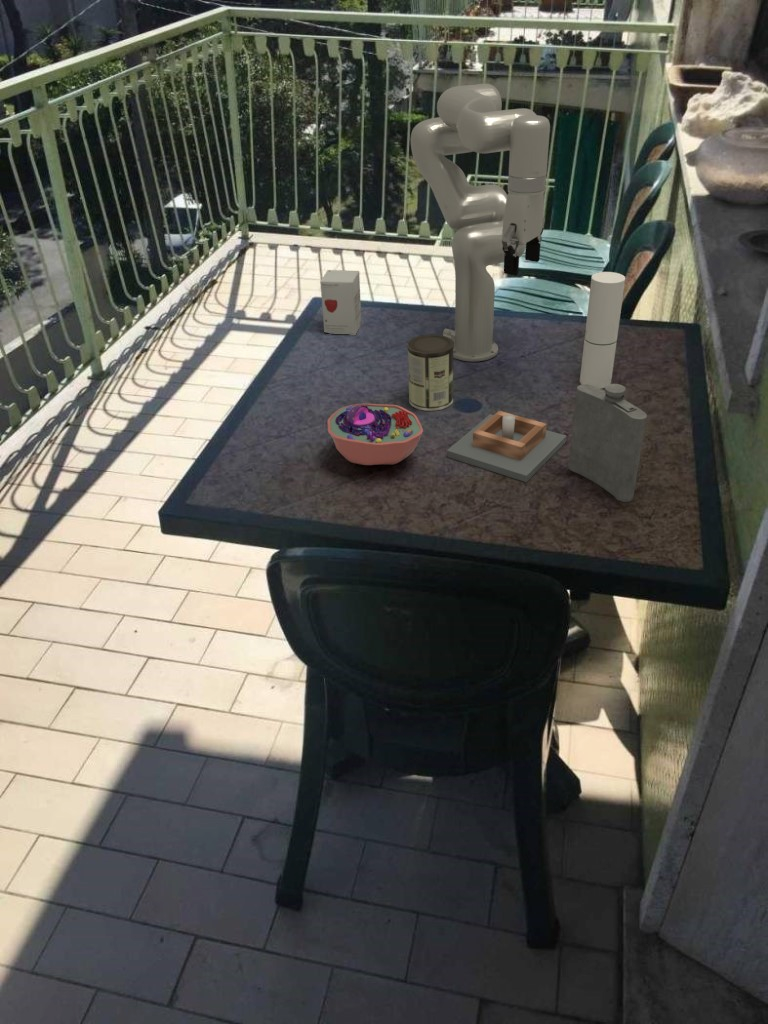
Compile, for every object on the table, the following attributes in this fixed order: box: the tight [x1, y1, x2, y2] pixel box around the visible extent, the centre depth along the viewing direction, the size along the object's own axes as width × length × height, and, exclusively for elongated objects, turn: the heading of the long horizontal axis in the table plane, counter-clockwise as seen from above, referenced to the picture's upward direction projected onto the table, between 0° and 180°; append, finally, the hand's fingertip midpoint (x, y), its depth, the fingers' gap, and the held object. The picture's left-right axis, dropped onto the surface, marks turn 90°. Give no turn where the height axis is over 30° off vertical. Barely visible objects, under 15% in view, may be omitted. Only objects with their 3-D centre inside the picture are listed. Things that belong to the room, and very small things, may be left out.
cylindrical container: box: [579, 271, 626, 389], centre depth 184 cm, size 7×7×25 cm
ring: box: [473, 410, 548, 460], centre depth 167 cm, size 11×11×3 cm
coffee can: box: [406, 334, 454, 412], centre depth 182 cm, size 10×10×14 cm
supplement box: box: [320, 269, 362, 336], centre depth 218 cm, size 9×9×15 cm
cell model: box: [326, 403, 424, 466], centre depth 163 cm, size 17×20×11 cm
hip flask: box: [567, 383, 648, 503], centre depth 151 cm, size 16×4×20 cm, turn 33°
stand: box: [446, 413, 567, 483], centre depth 165 cm, size 18×18×8 cm
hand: (521, 267), depth 174 cm, fingers open, 9 cm apart
